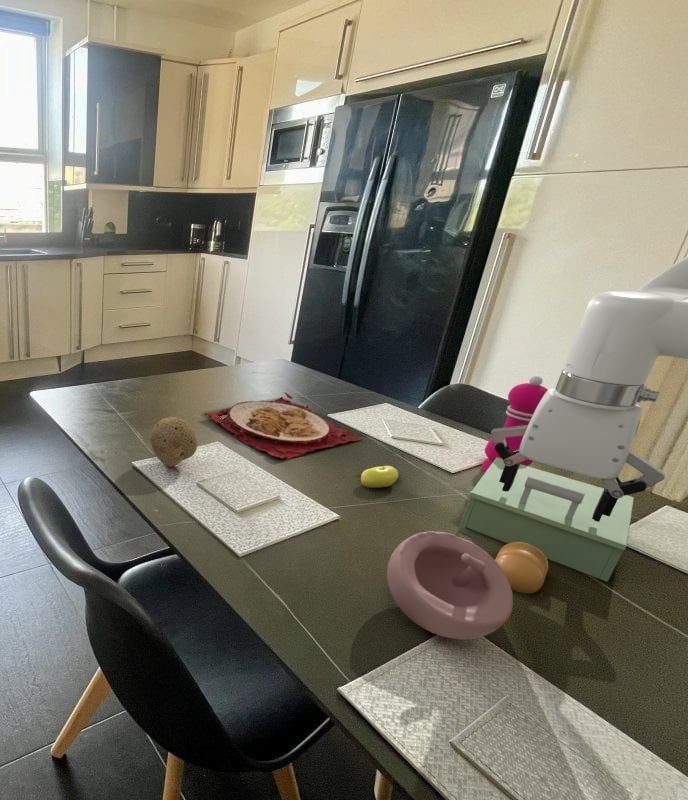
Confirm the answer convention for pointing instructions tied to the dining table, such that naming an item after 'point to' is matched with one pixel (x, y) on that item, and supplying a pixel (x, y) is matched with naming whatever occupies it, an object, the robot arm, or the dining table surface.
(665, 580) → the dining table surface
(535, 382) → the pepper mill
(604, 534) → the lid
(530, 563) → the bread roll
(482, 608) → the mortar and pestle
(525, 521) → the bin
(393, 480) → the yellow oval piece
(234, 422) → the plate with food
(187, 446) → the natural sponge
